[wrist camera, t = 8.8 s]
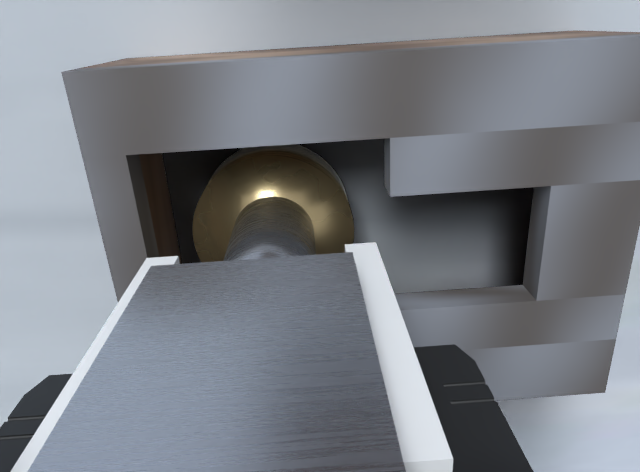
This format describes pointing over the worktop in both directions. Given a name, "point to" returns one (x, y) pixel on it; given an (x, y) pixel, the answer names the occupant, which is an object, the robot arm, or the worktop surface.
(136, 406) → the headed peg
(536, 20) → the worktop surface
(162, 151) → the keyhole block
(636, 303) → the worktop surface
